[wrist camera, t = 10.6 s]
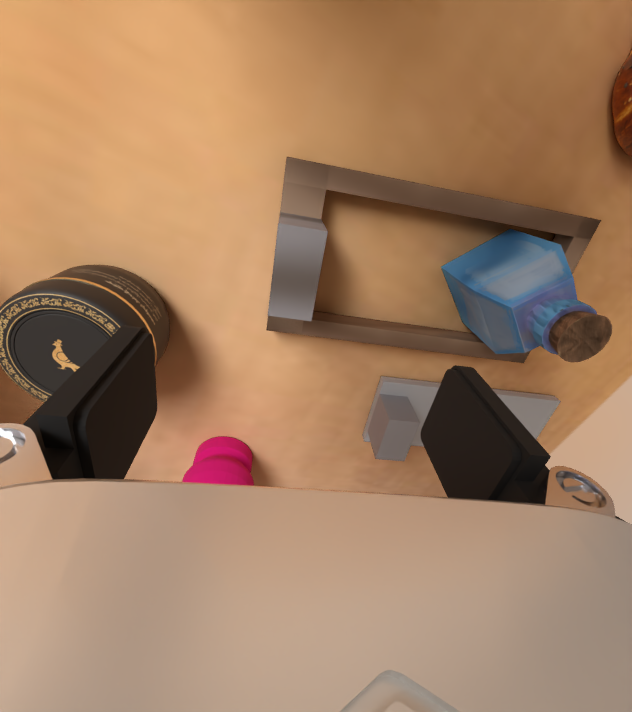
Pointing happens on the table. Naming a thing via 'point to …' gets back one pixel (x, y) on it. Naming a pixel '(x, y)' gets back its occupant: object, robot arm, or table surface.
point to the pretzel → (623, 106)
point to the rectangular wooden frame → (310, 180)
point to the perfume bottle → (524, 298)
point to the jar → (74, 323)
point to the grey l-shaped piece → (411, 406)
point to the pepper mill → (221, 463)
